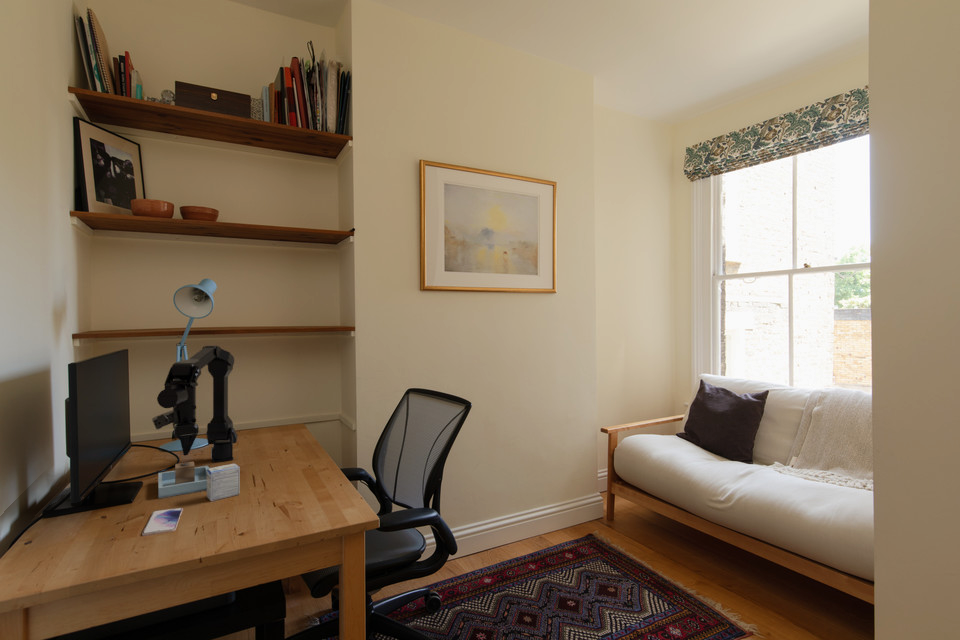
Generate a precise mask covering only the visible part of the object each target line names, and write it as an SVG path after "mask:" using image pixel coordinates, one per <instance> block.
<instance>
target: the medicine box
mask: <svg viewBox="0 0 960 640" xmlns="http://www.w3.org/2000/svg"><path fill="white" fill-rule="evenodd" d="M240 469H241V468H240V466H239V465H238V464H236V463H230V464H225V465H219V466H215V467H209V469H207V490H206V498H207V499H208V500H209V501H210V502H213V501H218V500H222V499H225V498H230V497H234V496H238V495H240V490H241V489H240V476H241V475H240V474H241V473H240Z"/></svg>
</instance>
